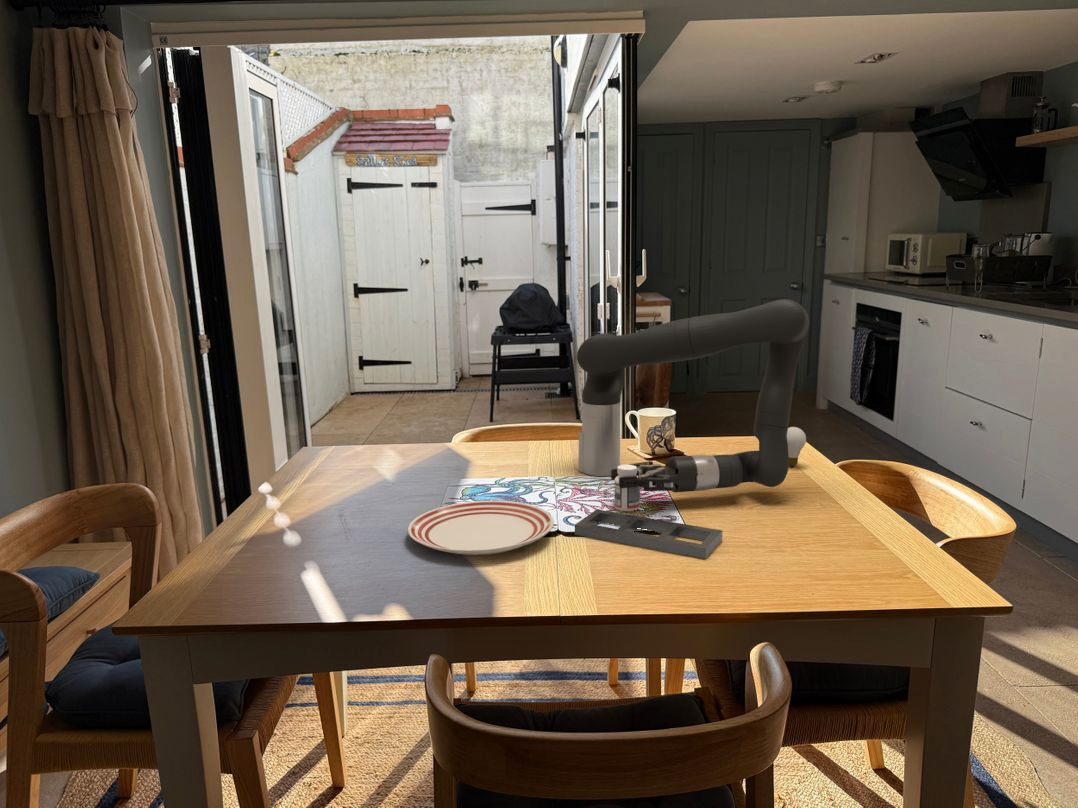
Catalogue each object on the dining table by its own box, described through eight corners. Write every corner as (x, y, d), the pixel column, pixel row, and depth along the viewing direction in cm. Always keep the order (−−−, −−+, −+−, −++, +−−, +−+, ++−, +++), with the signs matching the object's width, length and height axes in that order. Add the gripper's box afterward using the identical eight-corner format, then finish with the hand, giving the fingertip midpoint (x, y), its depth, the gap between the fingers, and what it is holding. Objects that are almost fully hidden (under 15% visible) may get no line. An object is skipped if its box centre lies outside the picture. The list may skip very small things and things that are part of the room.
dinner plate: (380, 555, 142) (379, 537, 141) (448, 507, 167) (448, 492, 167) (523, 575, 133) (522, 557, 132) (572, 522, 158) (572, 506, 157)
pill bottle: (642, 505, 167) (642, 464, 165) (636, 513, 162) (637, 471, 160) (617, 502, 169) (617, 462, 167) (611, 510, 164) (611, 469, 162)
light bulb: (801, 463, 197) (803, 424, 195) (806, 470, 191) (809, 430, 189) (777, 463, 198) (779, 424, 196) (781, 470, 192) (784, 429, 190)
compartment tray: (574, 534, 151) (574, 524, 150) (596, 518, 159) (596, 509, 159) (705, 559, 138) (706, 548, 138) (722, 540, 147) (722, 530, 147)
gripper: (680, 447, 173) (605, 452, 170) (706, 465, 159) (625, 470, 156) (679, 480, 175) (605, 485, 171) (705, 500, 161) (625, 507, 158)
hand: (615, 478), depth 164 cm, fingers closed on pill bottle, 5 cm apart
